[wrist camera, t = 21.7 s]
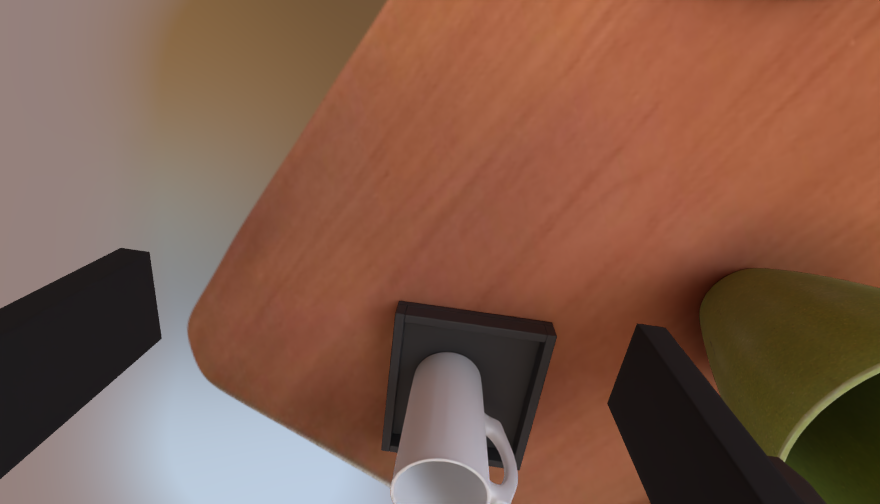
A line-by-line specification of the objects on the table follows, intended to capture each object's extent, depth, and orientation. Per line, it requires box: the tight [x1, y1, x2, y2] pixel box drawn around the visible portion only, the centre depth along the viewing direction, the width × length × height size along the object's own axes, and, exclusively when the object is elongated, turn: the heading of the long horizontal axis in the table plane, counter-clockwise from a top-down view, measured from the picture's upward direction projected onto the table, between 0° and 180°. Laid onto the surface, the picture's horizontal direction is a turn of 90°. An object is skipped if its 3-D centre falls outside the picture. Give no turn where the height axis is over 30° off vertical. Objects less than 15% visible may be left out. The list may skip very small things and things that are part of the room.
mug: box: [390, 352, 518, 504], centre depth 34 cm, size 10×7×12 cm, turn 60°
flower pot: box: [699, 268, 880, 504], centre depth 28 cm, size 15×15×16 cm
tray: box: [381, 301, 557, 470], centre depth 39 cm, size 14×16×2 cm
